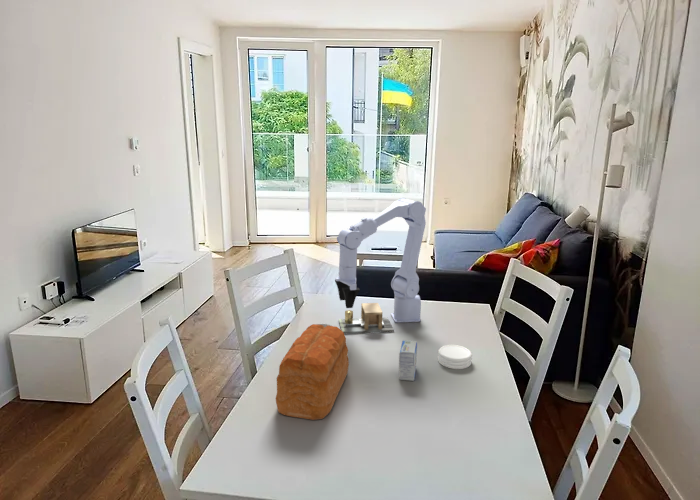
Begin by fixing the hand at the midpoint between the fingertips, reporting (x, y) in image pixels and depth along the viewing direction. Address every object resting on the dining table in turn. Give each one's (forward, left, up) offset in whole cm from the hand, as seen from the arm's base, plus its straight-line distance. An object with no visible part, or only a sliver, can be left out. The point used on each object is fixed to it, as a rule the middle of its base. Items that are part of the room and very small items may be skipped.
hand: (346, 303), depth 164 cm
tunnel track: (-7, -3, -10) cm, 13 cm away
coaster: (-30, +25, -11) cm, 41 cm away
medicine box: (-14, +31, -10) cm, 36 cm away
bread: (+12, +37, -10) cm, 40 cm away
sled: (-7, -3, -9) cm, 11 cm away
